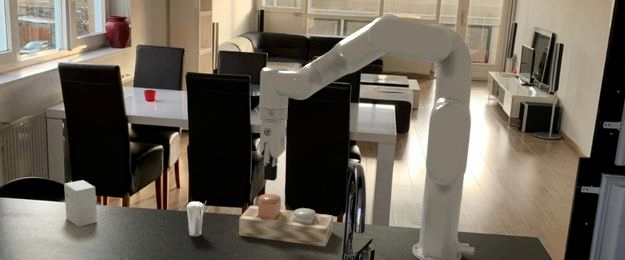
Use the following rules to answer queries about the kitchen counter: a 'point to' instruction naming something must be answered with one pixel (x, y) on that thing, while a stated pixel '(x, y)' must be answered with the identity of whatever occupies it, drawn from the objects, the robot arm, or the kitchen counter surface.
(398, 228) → the kitchen counter surface
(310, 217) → the grey button
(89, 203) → the small box
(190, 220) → the milkshake
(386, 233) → the kitchen counter surface
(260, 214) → the terracotta button
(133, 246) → the kitchen counter surface
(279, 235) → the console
